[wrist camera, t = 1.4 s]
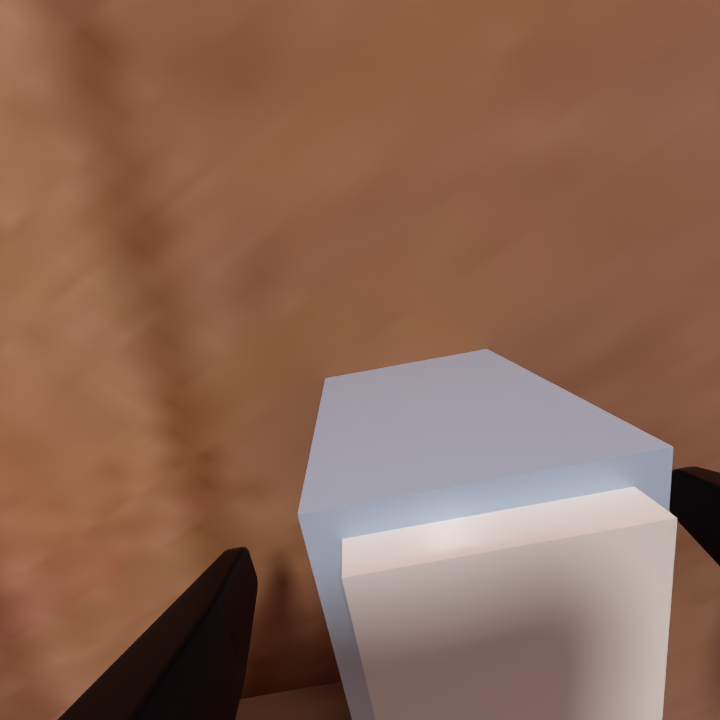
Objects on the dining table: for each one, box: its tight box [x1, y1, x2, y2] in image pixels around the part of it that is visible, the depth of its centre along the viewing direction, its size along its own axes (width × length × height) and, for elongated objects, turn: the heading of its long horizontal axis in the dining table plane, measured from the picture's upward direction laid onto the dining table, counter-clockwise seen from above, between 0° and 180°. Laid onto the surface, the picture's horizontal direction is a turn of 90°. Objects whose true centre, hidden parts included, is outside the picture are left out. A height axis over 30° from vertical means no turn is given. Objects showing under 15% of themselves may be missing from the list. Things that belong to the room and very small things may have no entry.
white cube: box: [298, 349, 677, 720], centre depth 8 cm, size 5×5×7 cm
